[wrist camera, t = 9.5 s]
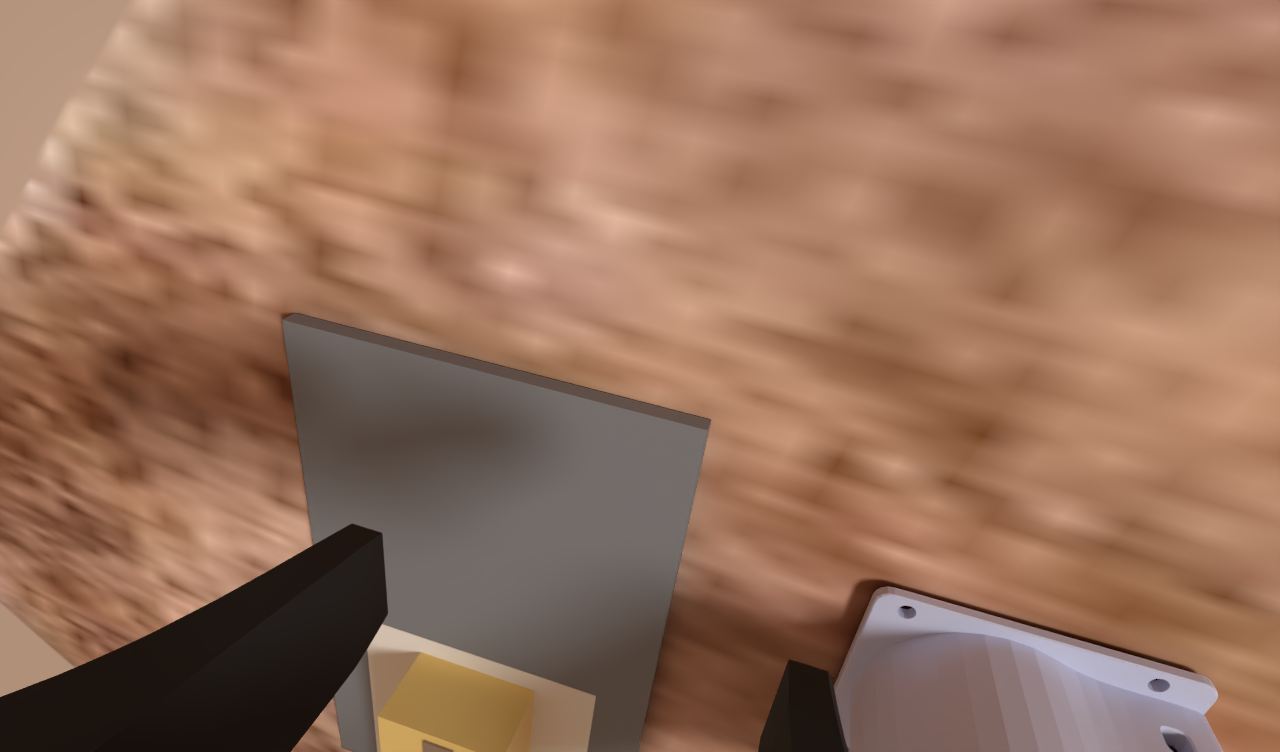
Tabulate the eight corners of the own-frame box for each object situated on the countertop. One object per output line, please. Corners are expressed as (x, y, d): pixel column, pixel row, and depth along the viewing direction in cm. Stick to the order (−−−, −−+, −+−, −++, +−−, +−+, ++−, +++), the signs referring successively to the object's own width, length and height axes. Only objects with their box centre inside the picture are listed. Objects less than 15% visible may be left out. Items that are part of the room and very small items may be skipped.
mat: (710, 419, 20) (707, 430, 19) (619, 836, 31) (615, 850, 31) (295, 312, 22) (281, 320, 22) (349, 736, 33) (341, 747, 33)
